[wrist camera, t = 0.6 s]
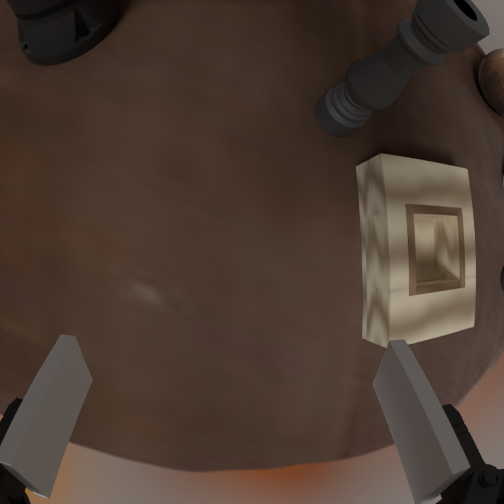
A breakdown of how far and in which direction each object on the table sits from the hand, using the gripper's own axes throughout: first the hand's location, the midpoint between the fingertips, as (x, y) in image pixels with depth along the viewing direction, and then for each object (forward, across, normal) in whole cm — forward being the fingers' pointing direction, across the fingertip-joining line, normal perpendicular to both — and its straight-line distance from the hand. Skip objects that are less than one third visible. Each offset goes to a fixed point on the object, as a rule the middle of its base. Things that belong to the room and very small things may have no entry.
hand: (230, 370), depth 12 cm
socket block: (+27, +23, -7) cm, 36 cm away
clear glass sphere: (+46, +52, +21) cm, 72 cm away
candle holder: (+33, +13, +9) cm, 37 cm away
